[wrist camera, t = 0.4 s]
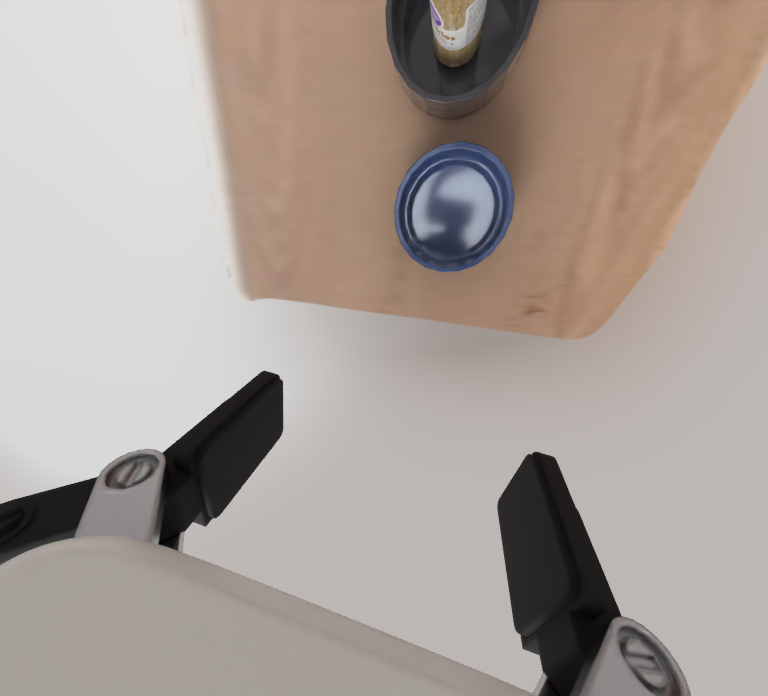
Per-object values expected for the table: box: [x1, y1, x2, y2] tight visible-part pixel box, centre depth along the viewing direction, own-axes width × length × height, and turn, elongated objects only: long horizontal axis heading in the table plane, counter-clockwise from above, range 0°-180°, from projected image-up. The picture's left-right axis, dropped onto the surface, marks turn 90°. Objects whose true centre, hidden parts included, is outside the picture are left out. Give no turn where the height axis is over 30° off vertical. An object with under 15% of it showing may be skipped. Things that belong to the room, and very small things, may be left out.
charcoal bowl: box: [386, 0, 539, 119], centre depth 24 cm, size 12×12×5 cm
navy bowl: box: [394, 142, 514, 272], centre depth 31 cm, size 12×12×5 cm
